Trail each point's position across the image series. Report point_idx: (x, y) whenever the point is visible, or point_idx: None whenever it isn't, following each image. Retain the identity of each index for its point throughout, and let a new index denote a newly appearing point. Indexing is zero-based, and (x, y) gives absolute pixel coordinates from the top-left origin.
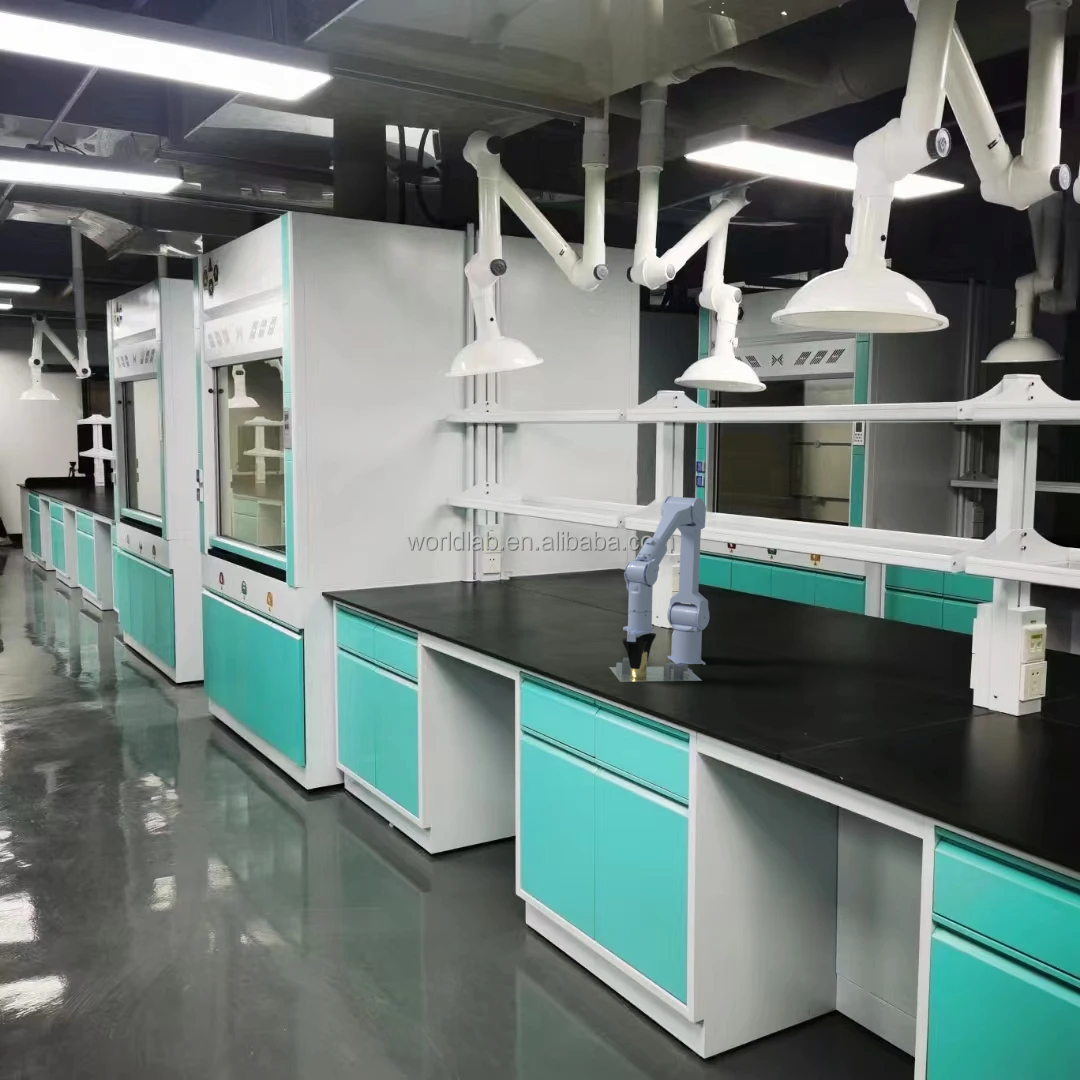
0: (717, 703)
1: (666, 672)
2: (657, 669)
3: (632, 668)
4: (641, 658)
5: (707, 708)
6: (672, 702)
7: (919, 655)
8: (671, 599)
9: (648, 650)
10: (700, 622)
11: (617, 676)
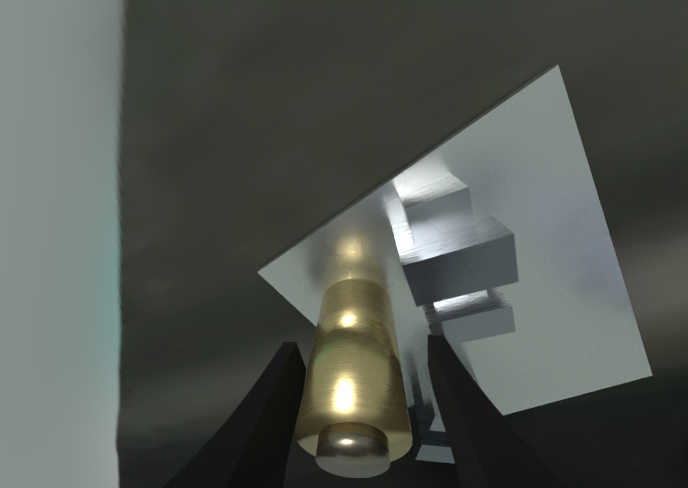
0: None
1: (424, 389)
2: (558, 315)
3: (316, 332)
4: (289, 433)
5: None
6: (201, 417)
7: None
8: None
9: (452, 453)
10: None
11: (332, 226)
